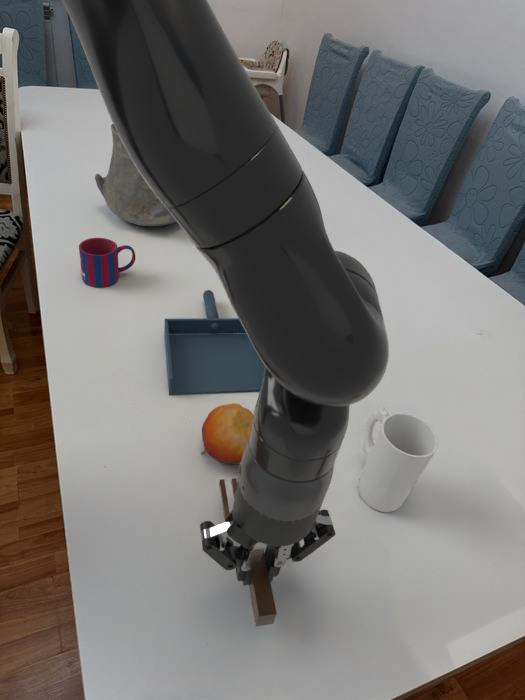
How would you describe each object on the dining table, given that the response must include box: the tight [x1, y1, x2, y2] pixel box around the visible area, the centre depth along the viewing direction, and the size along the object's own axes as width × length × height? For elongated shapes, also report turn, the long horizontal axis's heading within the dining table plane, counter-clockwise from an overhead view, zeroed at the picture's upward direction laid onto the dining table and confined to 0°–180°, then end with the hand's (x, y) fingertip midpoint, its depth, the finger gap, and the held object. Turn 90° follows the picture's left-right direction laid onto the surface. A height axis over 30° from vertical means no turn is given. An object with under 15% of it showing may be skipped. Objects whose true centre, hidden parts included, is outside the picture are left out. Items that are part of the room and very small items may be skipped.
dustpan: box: [163, 289, 265, 396], centre depth 84 cm, size 24×17×3 cm
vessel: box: [94, 123, 177, 227], centre depth 110 cm, size 22×22×20 cm
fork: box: [218, 477, 278, 627], centre depth 55 cm, size 16×5×2 cm, turn 11°
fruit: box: [200, 403, 254, 465], centre depth 66 cm, size 8×8×8 cm
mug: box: [357, 406, 439, 513], centre depth 64 cm, size 10×7×12 cm, turn 23°
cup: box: [78, 237, 136, 288], centre depth 93 cm, size 7×10×7 cm
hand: (256, 574), depth 53 cm, fingers closed on fork, 2 cm apart
